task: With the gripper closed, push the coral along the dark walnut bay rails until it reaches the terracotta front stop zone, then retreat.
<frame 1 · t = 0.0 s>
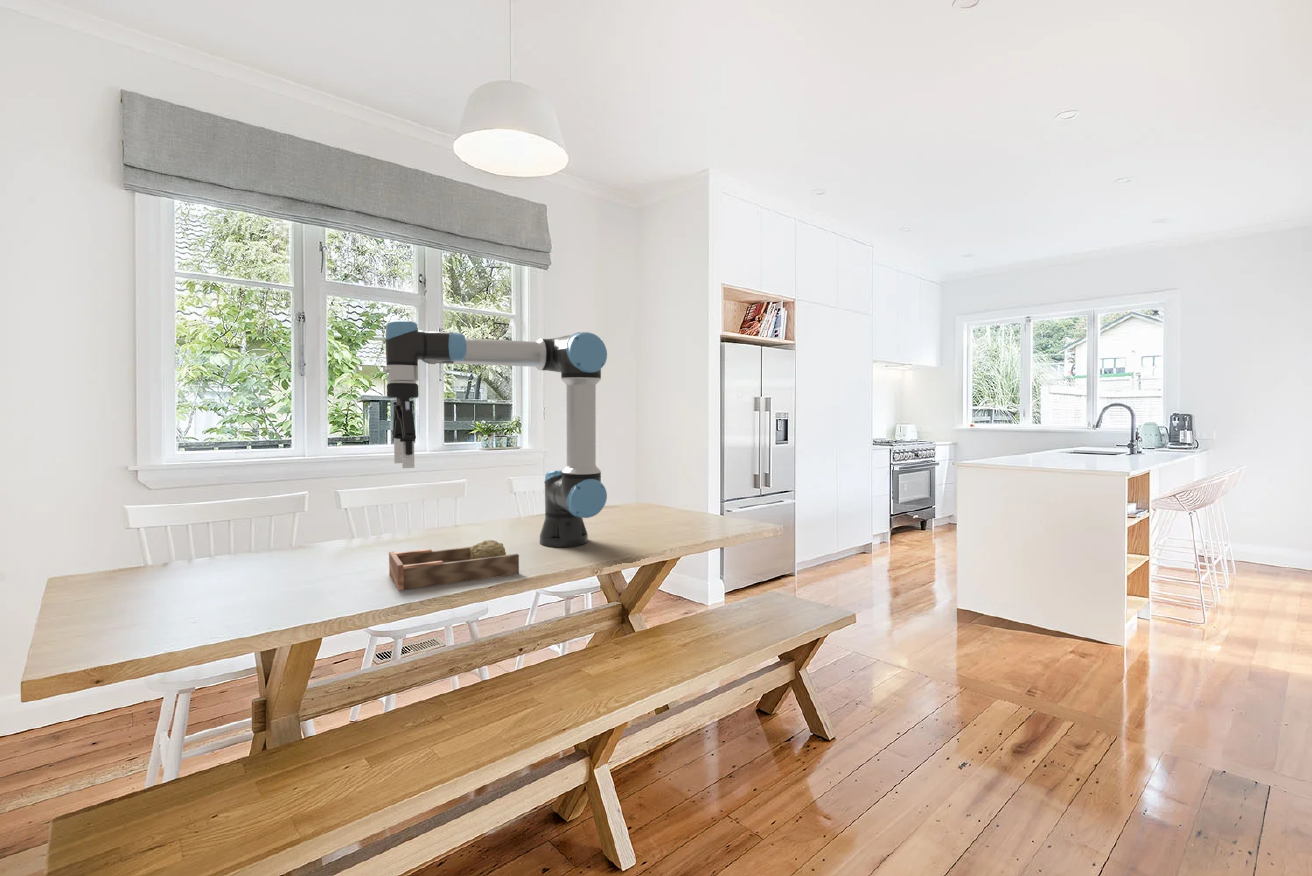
hand: (404, 465, 160), 28 cm above the table, fingers open, 13 cm apart
bay: (456, 574, 160), on the table
coral: (487, 571, 164), on the table
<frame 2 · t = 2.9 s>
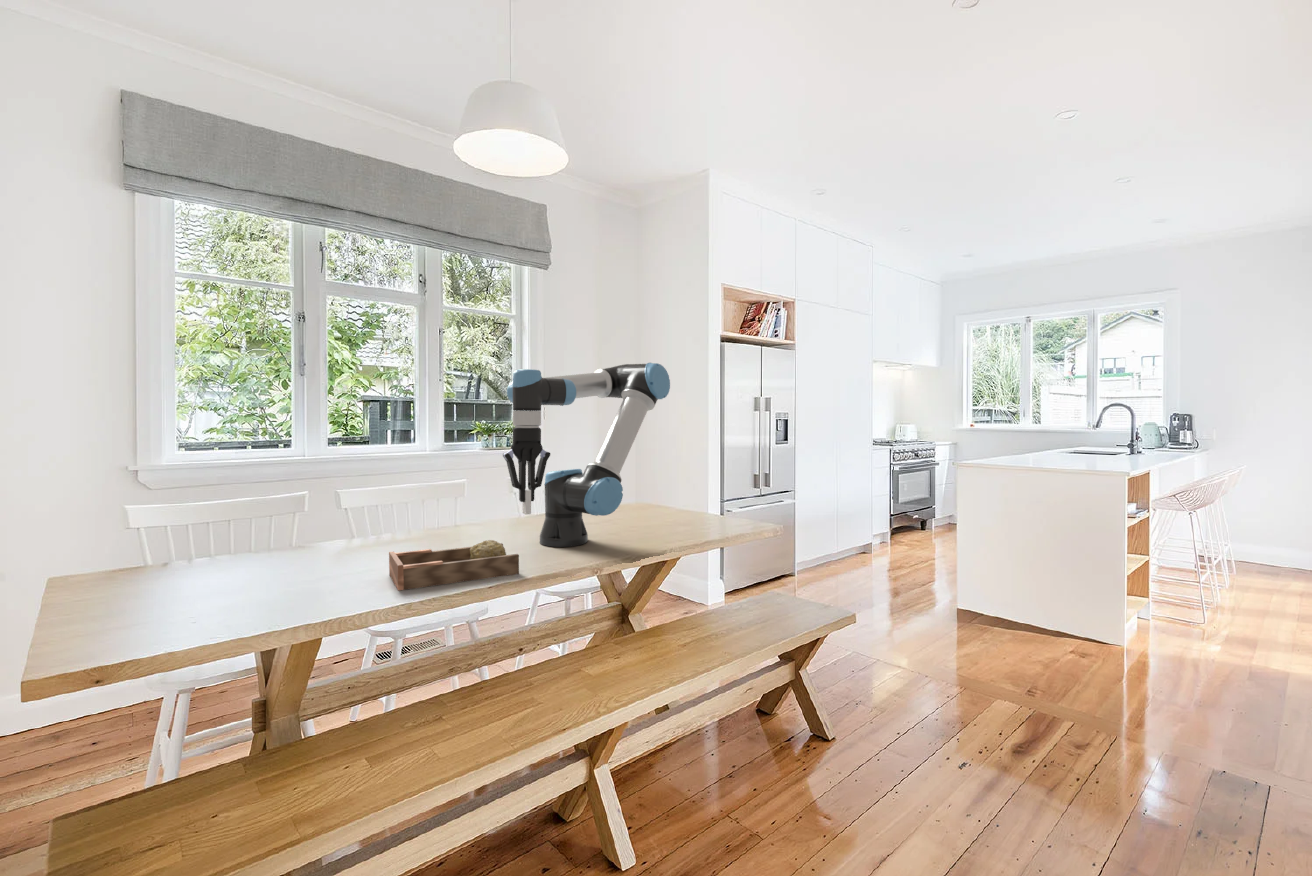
hand: (526, 513, 169), 14 cm above the table, fingers closed
nothing on the table moved.
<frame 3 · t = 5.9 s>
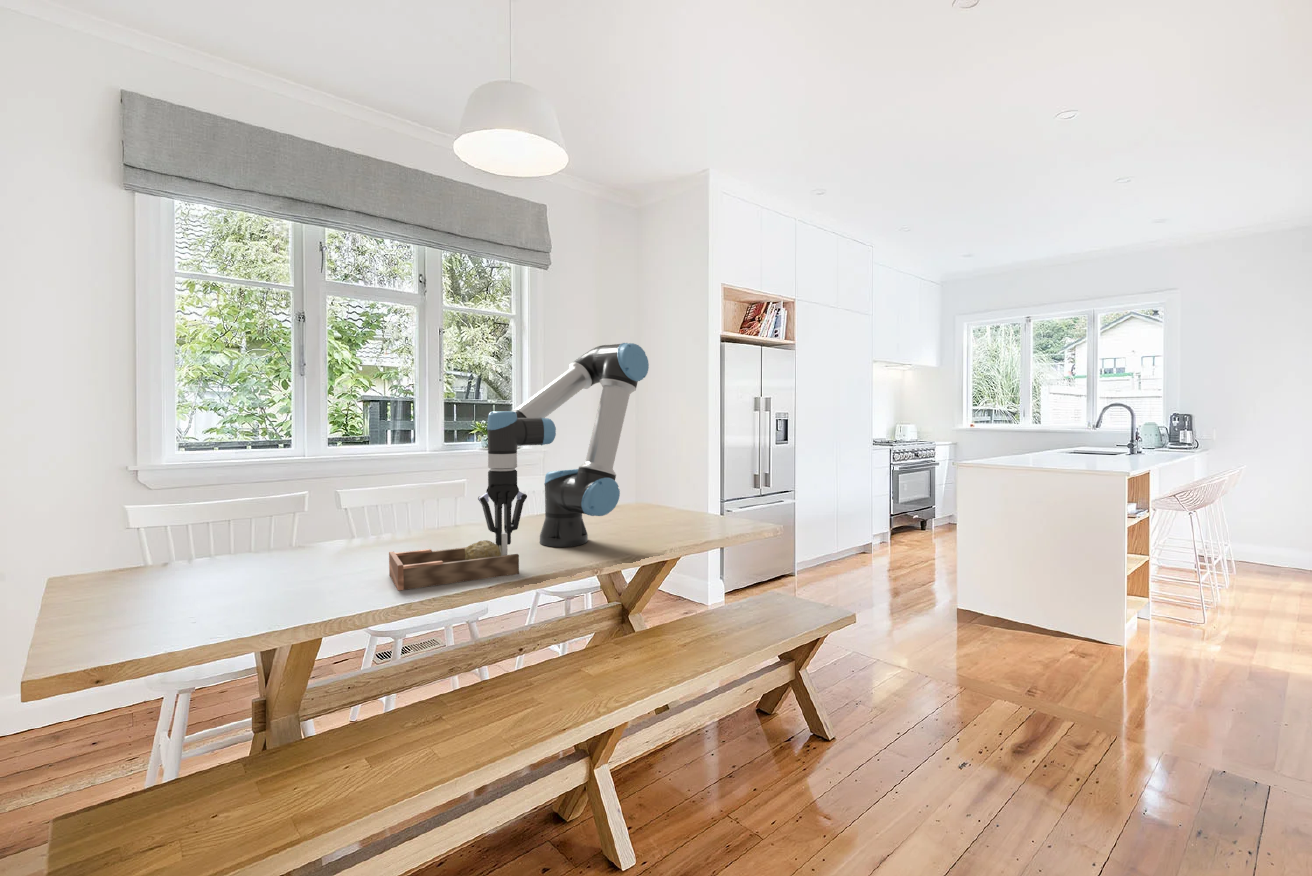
hand: (503, 556, 166), 3 cm above the table, fingers closed
coral: (482, 571, 164), on the table, touching gripper
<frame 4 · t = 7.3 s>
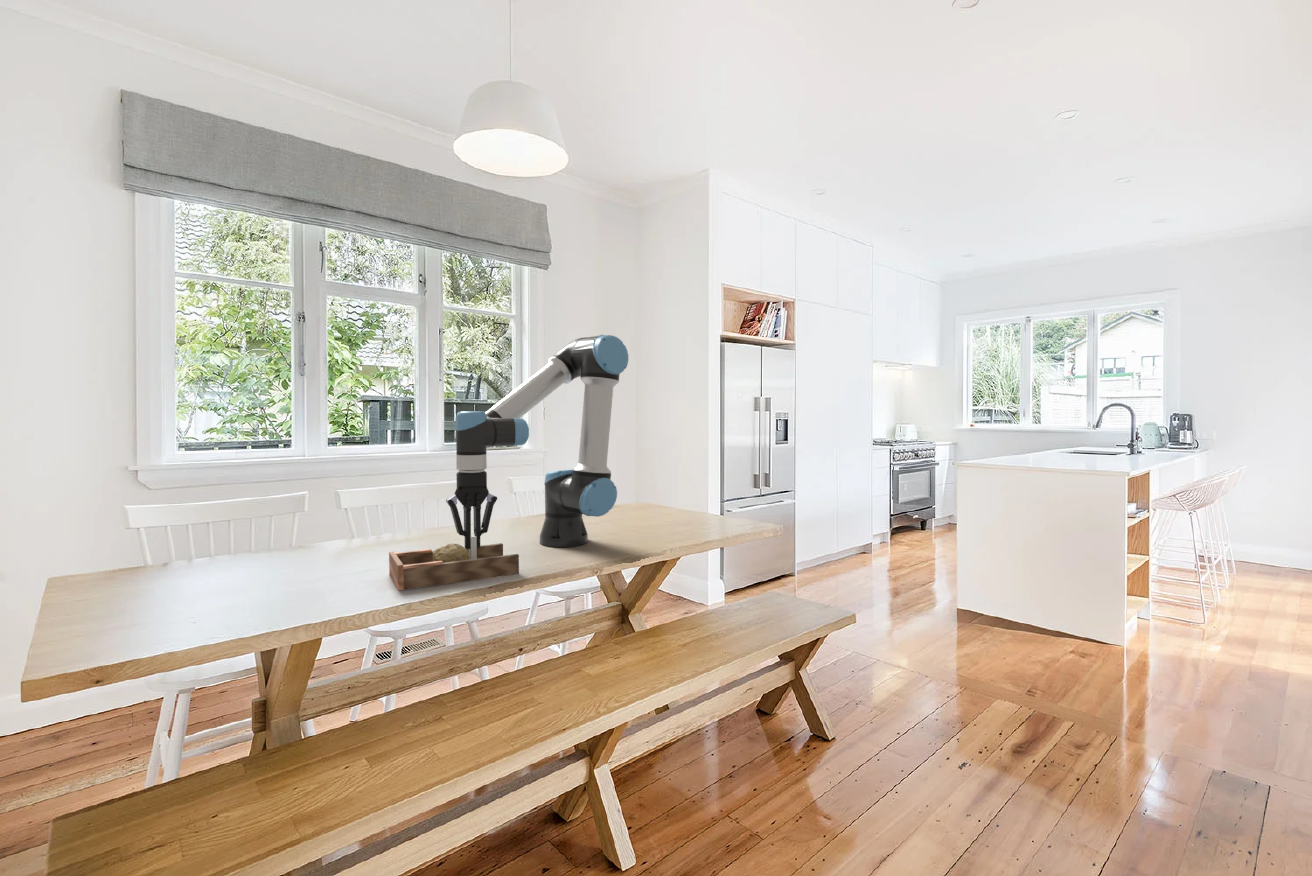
hand: (472, 560, 162), 3 cm above the table, fingers closed
coral: (451, 575, 160), on the table, touching gripper
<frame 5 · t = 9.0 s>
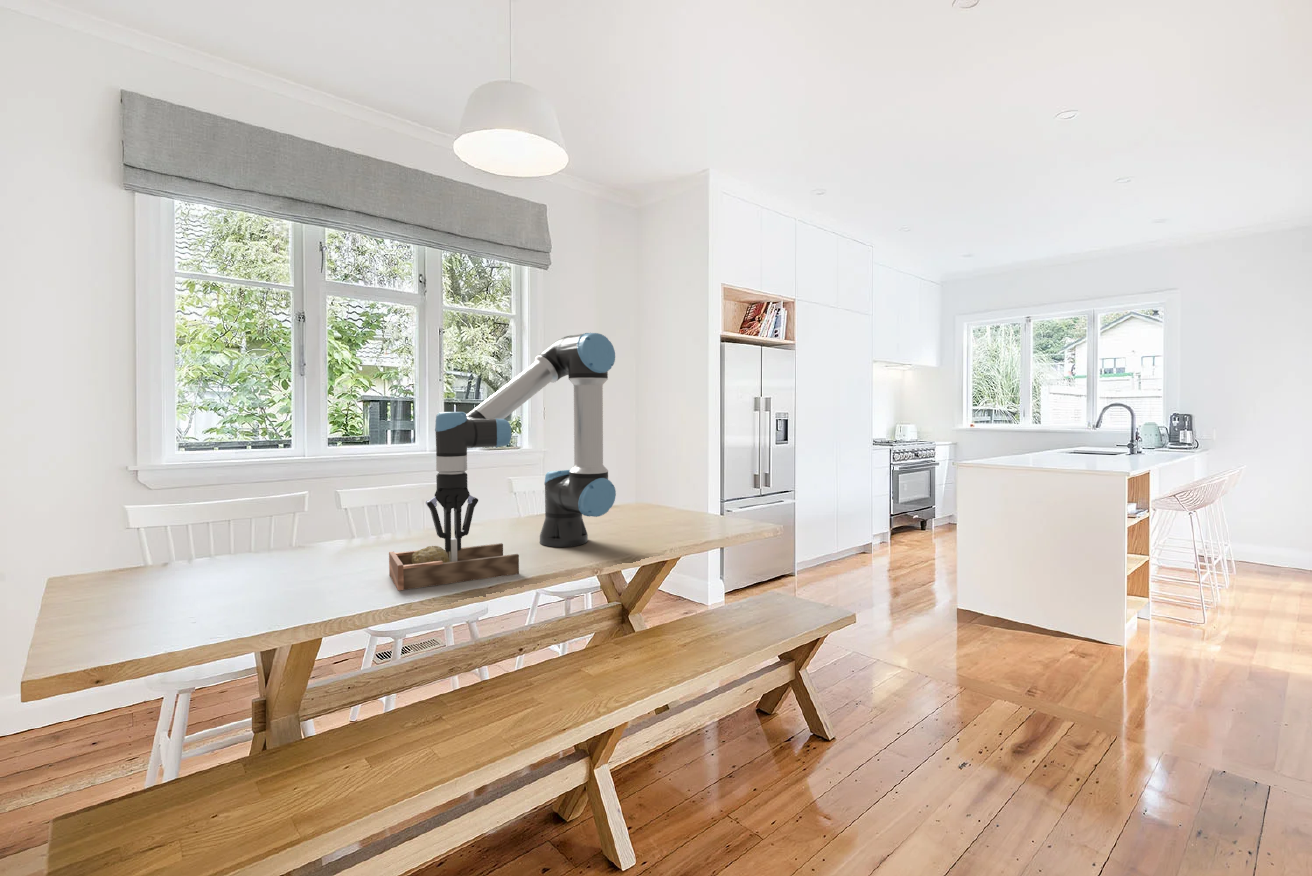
hand: (453, 563, 160), 3 cm above the table, fingers closed
coral: (430, 578, 157), on the table, touching gripper
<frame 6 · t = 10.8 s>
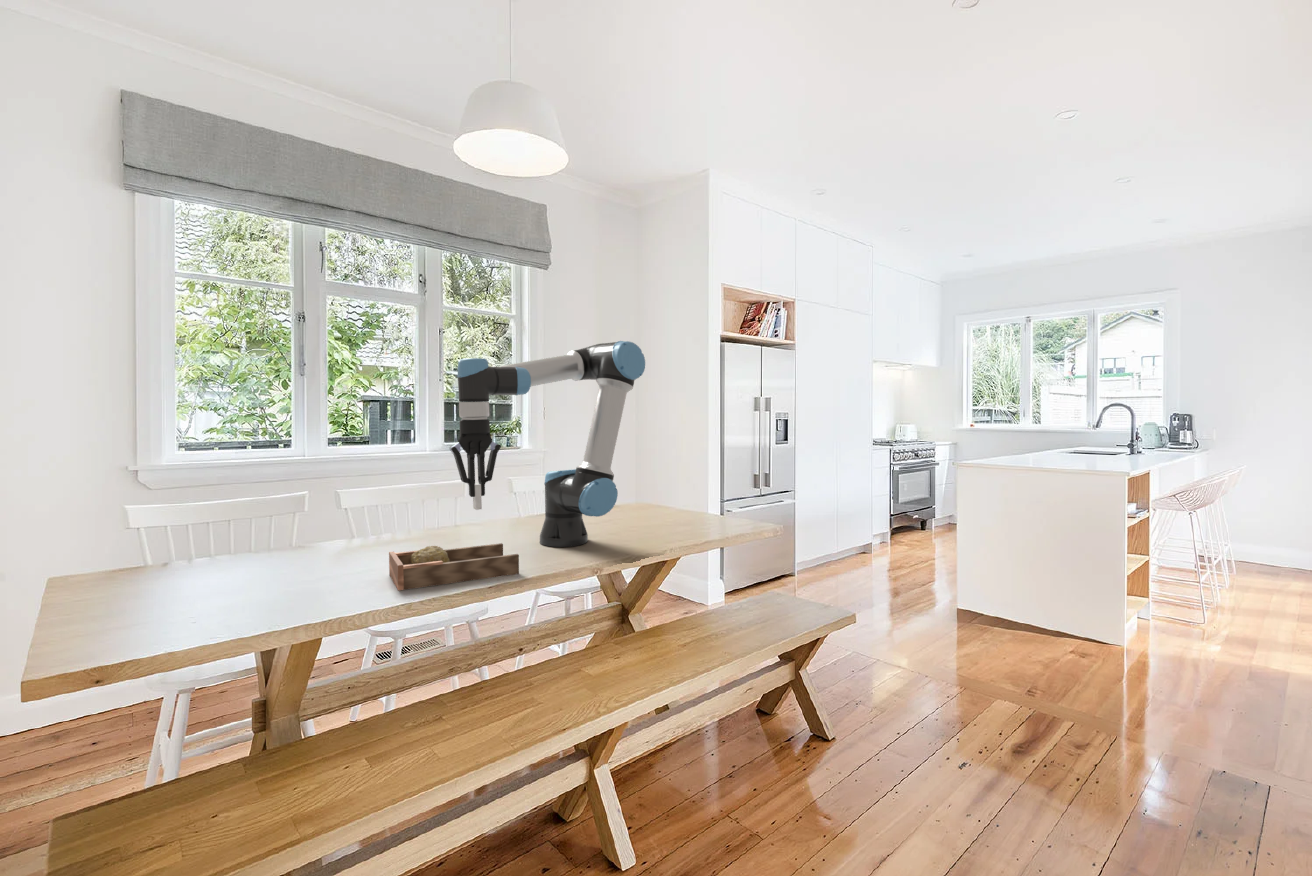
hand: (477, 508, 162), 17 cm above the table, fingers closed
coral: (430, 578, 157), on the table
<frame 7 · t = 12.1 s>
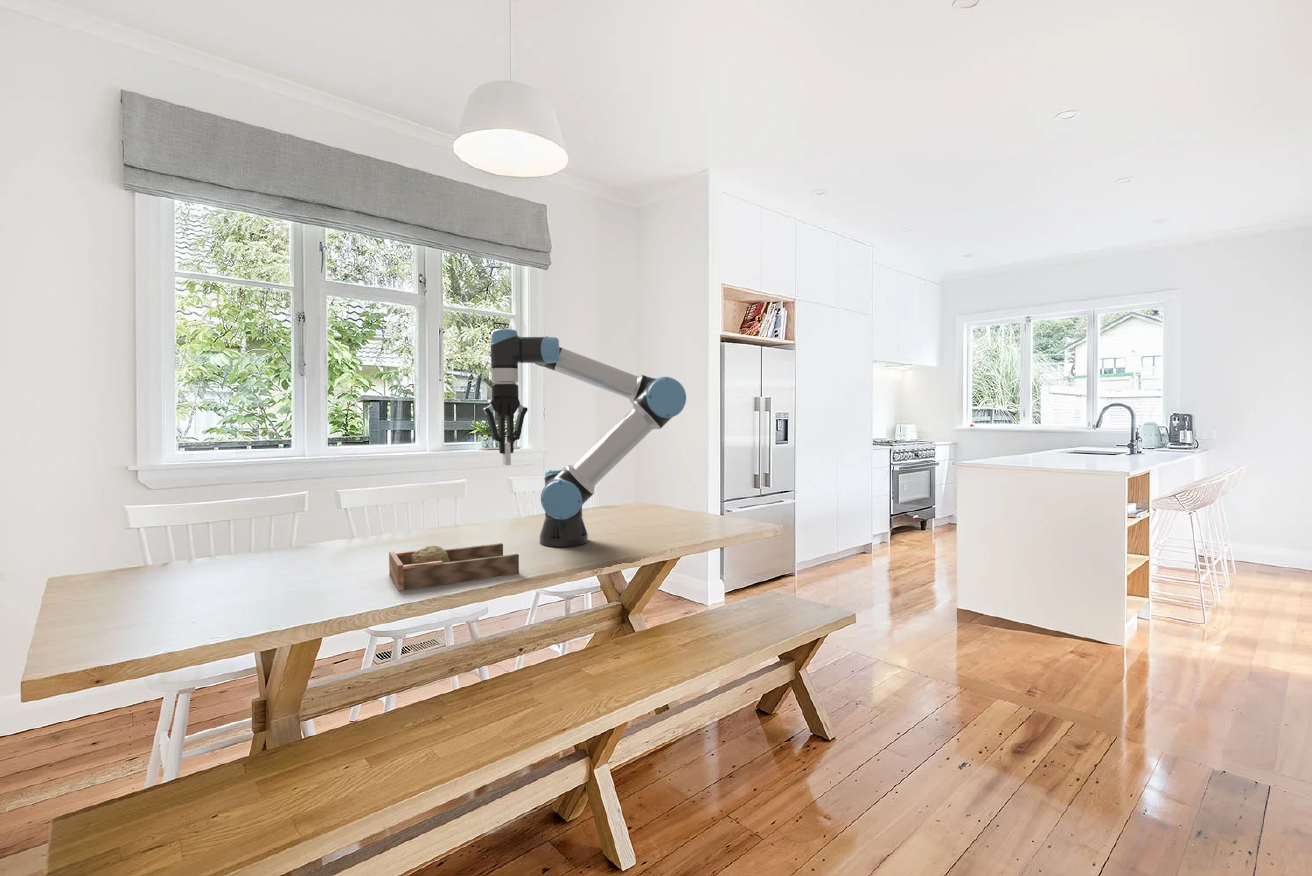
hand: (506, 464, 181), 26 cm above the table, fingers closed
nothing on the table moved.
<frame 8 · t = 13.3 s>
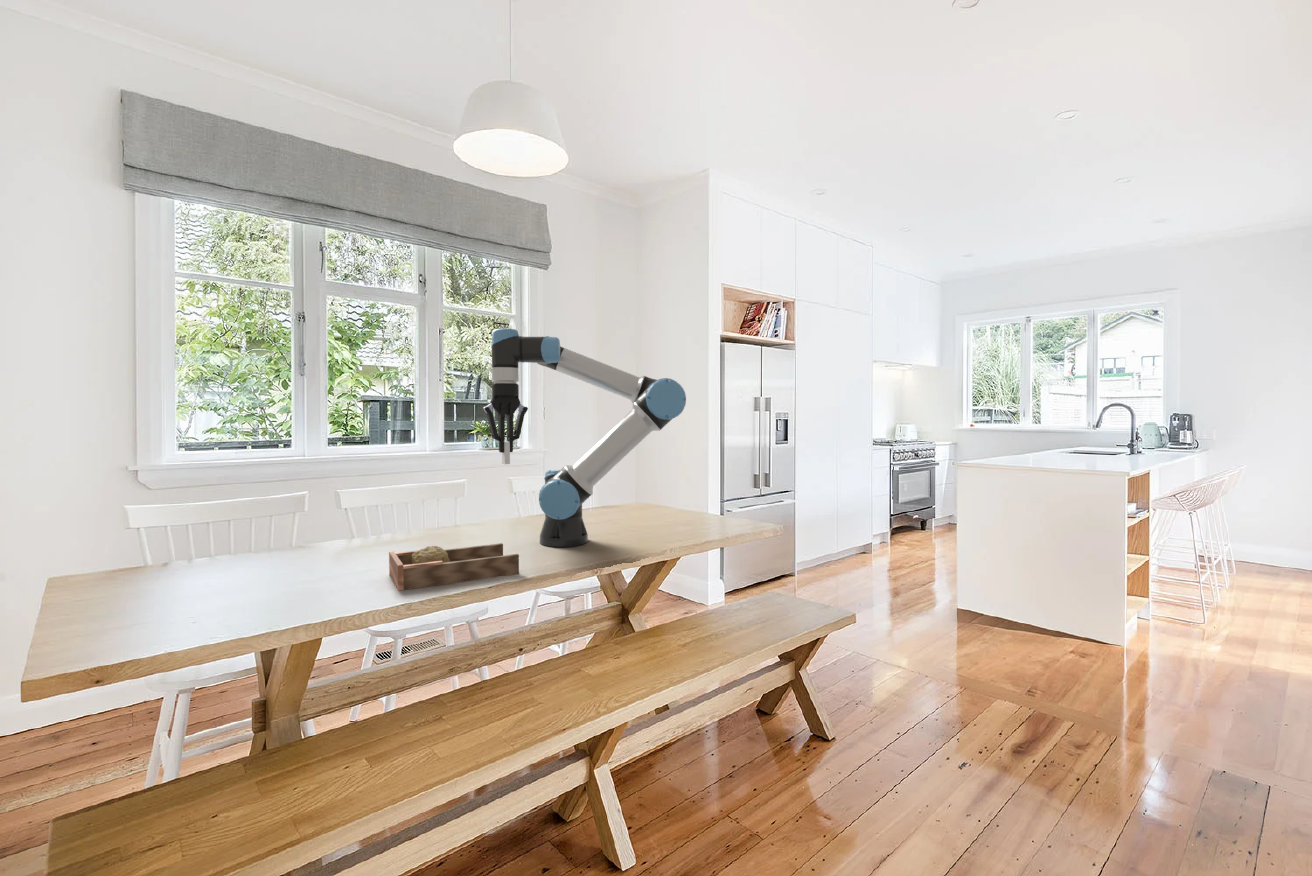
hand: (506, 463, 182), 26 cm above the table, fingers closed
nothing on the table moved.
at the end: coral inside the target area (0.8 cm from its centre), on the table; coral moved 14.5 cm from its start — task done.
